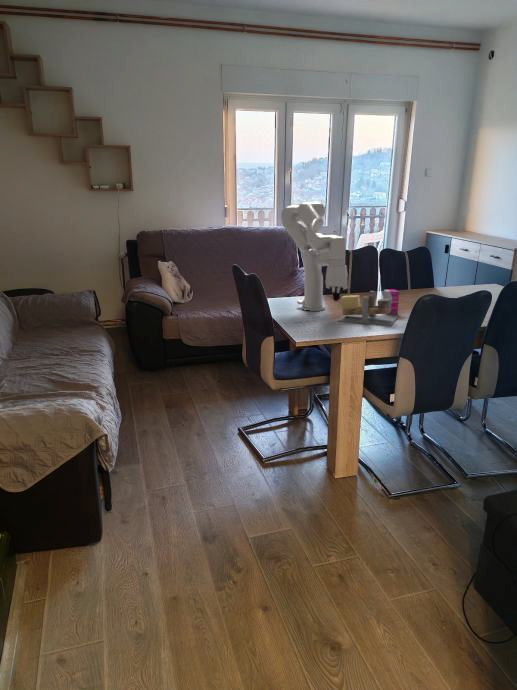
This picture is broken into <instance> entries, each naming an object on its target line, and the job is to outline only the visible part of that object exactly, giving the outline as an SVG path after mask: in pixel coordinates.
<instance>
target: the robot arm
mask: <svg viewBox="0 0 517 690" xmlns="http://www.w3.org/2000/svg"><path fill="white" fill-rule="evenodd" d="M325 214H326V209H325V206H324V203H322V202H321V201H320V202H319V201H306V202H302V203H300V204H299V205H296V204H295V205H289V206H285V207H283V209H282V210H281V212H280V217H281V218H280V219H281V224H282V226H283V227H284V229H285V230H286V232H287V233H288V234H289V235H290V236H291V238H292V240H293V241H294V243H295V245H296V247H297V248H298V249H299V251H300V252H302V253H303V254H302V262H303V269H304V297H303V298H304V299H302V300H301V299H297V301H296V303H297V305H302V306H301V308H302V309H301V310H303V309H304V310H303V311H306V310H310V311H309V312H321V311H324V310H326V306H325V305H323V296H324V295H323V293H324V292H323V291H324V290H323V289H324V287H323V286H324V284H325V288H326V289H329V290H330V291H331V292H332V299H333V301H334V302H338V301H339V300H341V292H342V291H343V290H347V289H348V288H349V286H348V284H349V281H348V280H349V279H348V278H349V276H348V267H347V265H346V246H347V239H346V237H345V236H340V235H336V234H326V235H325V234H323V233H317V232H318V231H319V230H321V229H322V227H323V225H324V219H323V217H324V216H325ZM300 222H303V224H304V225H305V226H304V225H302V224H301V223H300ZM306 228H307V229H306ZM320 267H326V273H325V281H324V275H323V272H322V270H321V269H320ZM324 282H325V283H324Z"/></svg>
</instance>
